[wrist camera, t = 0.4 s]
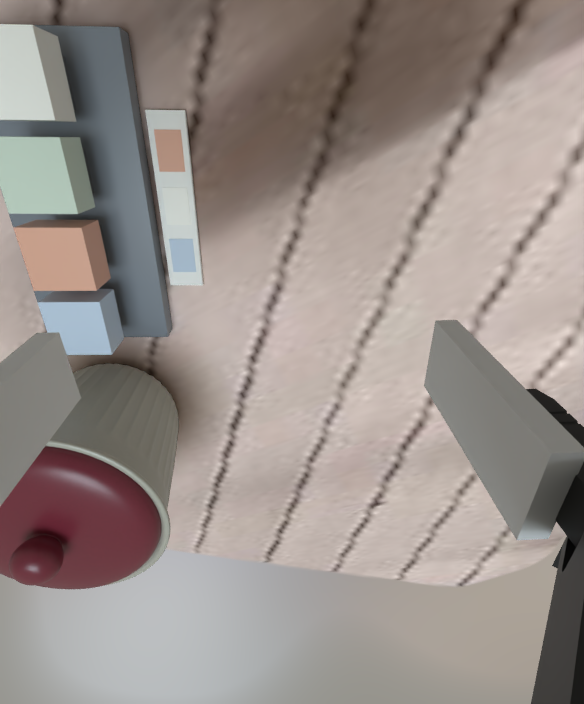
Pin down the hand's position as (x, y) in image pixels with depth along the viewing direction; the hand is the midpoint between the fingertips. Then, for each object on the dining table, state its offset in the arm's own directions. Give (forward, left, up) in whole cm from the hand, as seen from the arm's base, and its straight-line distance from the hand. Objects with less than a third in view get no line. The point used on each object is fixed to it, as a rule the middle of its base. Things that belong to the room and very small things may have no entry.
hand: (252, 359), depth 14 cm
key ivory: (-10, -16, -22) cm, 29 cm away
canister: (+21, -17, -27) cm, 38 cm away
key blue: (+8, -16, -22) cm, 28 cm away
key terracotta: (+2, -16, -22) cm, 27 cm away
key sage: (-4, -16, -22) cm, 28 cm away
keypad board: (-1, -16, -26) cm, 31 cm away
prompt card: (-1, -8, -26) cm, 28 cm away
